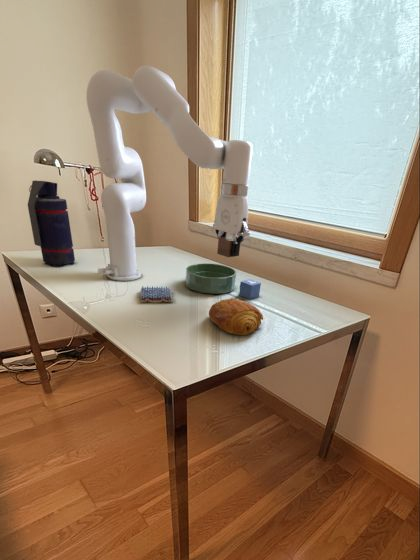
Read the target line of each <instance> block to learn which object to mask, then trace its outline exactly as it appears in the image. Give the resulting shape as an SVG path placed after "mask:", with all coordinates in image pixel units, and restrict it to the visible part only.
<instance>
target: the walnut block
mask: <svg viewBox="0 0 420 560" xmlns="http://www.w3.org/2000/svg"><path fill="white" fill-rule="evenodd" d="M217 240H218V241H217V255H218V256H219V255H220V256H223V257H226V258H233V257H232V256H231V248H232V243H234V241H233V236H226V237H221V238H219V239H218V238H217ZM240 249H241V248H240ZM240 249H239V252H241V251H240ZM239 256H240V254H239V255H238V256H237V257H239Z"/></svg>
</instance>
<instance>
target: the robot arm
mask: <svg viewBox="0 0 420 560" xmlns="http://www.w3.org/2000/svg"><path fill="white" fill-rule="evenodd" d="M175 84H176V83H175V82H174V80H173V78H171V76H170V75H168V74H167V73H165V72H164V71H162V70H159V69H158V68H156V67H154V66H152V65H142V66H139V67H138V68H137V69H136V70H135V72H134V74H133V77H132V78H130V77H127V76H124V75H123V74H120V73H118V72H116V71H114V70H113V71H112V70H108V69H101V70H98V71H96V72H95V73H93V75H92V76H91V77H90V78H89V81H88V84H87V88H86V104H87V105H86V106H87V111H88V113H89V117H90V120H91V125H92V129H93V134H94V142H95V147H96V153H97V158H98V163H99V168H100V172H102V174H103V175H104V176H105V177H106V178H110V179H120V182H113V183H110V184H107V185H105V187H104V188H103V189H102V190H101V195H100V201H101V205H102V210H103V213H104V217H105V224H106V233H107V244H108V255H109V263H107V266H106V267H102V268H98V269H97V272H98V274H99V275H104V274H105V275H106V276H107V278H108V279H110V280H114V281H119V282H120V281H121V282H123V281H124V282H125V281H134V280H137V279H140V278H141V276H142V272H141V271H139V270H138V269H137V251H136V250H137V249H136V232H135V224H134V221H133V218H132V215H131V214H132V213H137V212H140V211H142V210H143V209H144V208H145V207H146V203H147V190H146V189H147V188H146V182H145V181H146V180H145V173H144V166H143V161H142V159H141V157H140V154H139V153H138V152H137V151H136V150H135V149H133V148H132V147H129V146H125V144H124V139H123V131H122V127H121V123H120V121H119V119H118V117H117V116H116V112H115V110H118V111H121V112H124V113H128V114H133V115H134V114H135V115H139V114H144V113H145V114H146V113H152V114H153V116H155V117H156V118H157V119H158V120H159V121H160V123H161V124H162V125H163V126H164V127H165V128H166V129H167V130H168V132H169V135H170V136H171V138H172V140H173V142H174V143H175V145H176V146H177V147H178V148H179V150H180V151H181V152H182V153H183V154H184V155H185V156H186V157H187V158H188V159H189V160H190V161H191V162H192V163H193V164H194V165H196V166H197V167H199V168H200V169H210V170H223V171H222V172H223V173H222V183H221V186H220V190H221V194H219V195H218V198H217V202H216V206H215V207H216V208H215V214H214V222H213V224H212V227H213V229H214V232H215V234H216V235H217V237H216V238H217V240H218V239H219V238H221V237H227V235H228V234H232V237H233V241H234V243H232V248H231V256H232V257H231V258H233V257H234V258H235V257H239V256H240V251H239V249H241V244H242V243H243V241H244V240H246V239H247V238H248V237H249V236H250V235H251V233H250V230H249V227H248V222H249V221H248V219H249V197H248V190H249V181H250V175H251V174H250V173H251V166H252V160H253V159H252V158H253V151H254V150H253V148H254V147H253V144H252V143H251V142H250V141H247V140H239V139H231V140H228V141H227V140H224V139H220V138H216V137H212V136H209V135H208V134H207V133H206V132H205V131H204V130H203V129H202V128H201V127H200V126H199V125H198V124H197V122H195V120H194V119H193V118H192V116H191V114H190V104H189V103H188V101H187V100H186V99H185V98H184V97H183V96H182V95H181V94H180V92H179V91H177V88H176V85H175ZM238 255H239V256H238Z"/></svg>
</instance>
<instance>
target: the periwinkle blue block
mask: <svg viewBox="0 0 420 560" xmlns="http://www.w3.org/2000/svg"><path fill="white" fill-rule="evenodd" d="M239 284H240V285H239V292H238V293H239V294H238V295H239V296H241V297H243V298H245V299H248V300H253V299H255V298H259V297H260V292H261V287H262V286H261V285H262V282H260V281H257V280H254V279H250V278H248V279H244V280H241V281H240V283H239Z"/></svg>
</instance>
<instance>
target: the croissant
mask: <svg viewBox="0 0 420 560" xmlns="http://www.w3.org/2000/svg"><path fill="white" fill-rule="evenodd" d="M208 317H209V318H210V319H211V321H212V322H213V323H214V324H216V326H217V327H219V328H220V330H223V331H224V332H226V333H228V334H232V335H238V336H247V335H248V334H251V333H254V332H255V331H256V330H258V329H259V327H260V326H261V325H262V321H263V320H264V315H263V314H262V312H261V311H260V309H258V308H257V307H256V306H254V305H253V304H251V303H249V302H246V301H244V300H240V299H236V298H233V297H231V298H230V297H229V298H225V299H221V300H219V301H217V302H215V303H214V304H212V305H211V306H210V309H209V310H208Z"/></svg>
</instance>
